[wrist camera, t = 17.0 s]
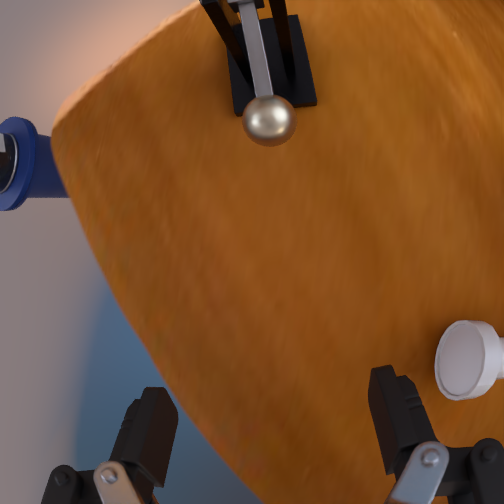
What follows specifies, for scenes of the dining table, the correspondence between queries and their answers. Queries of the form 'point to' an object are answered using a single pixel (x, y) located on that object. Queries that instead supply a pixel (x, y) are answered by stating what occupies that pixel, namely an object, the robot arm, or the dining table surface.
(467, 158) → the dining table surface
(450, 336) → the spotlight
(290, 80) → the switch bracket
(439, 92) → the dining table surface
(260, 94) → the switch lever
